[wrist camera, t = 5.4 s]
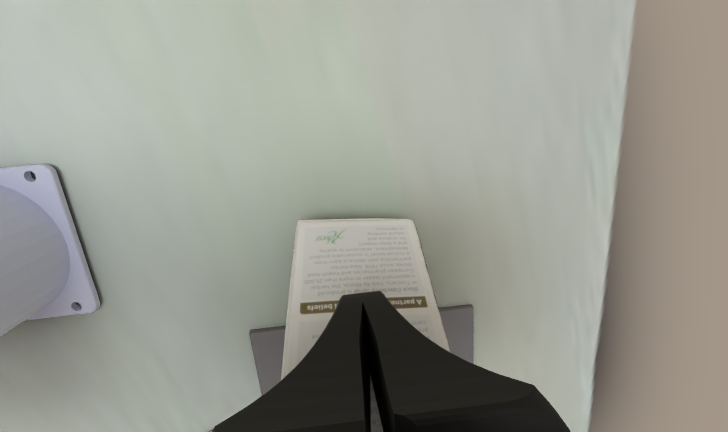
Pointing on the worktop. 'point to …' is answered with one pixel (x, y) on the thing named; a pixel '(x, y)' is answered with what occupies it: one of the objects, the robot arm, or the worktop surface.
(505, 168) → the worktop surface
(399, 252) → the syrup box
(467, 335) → the mat
